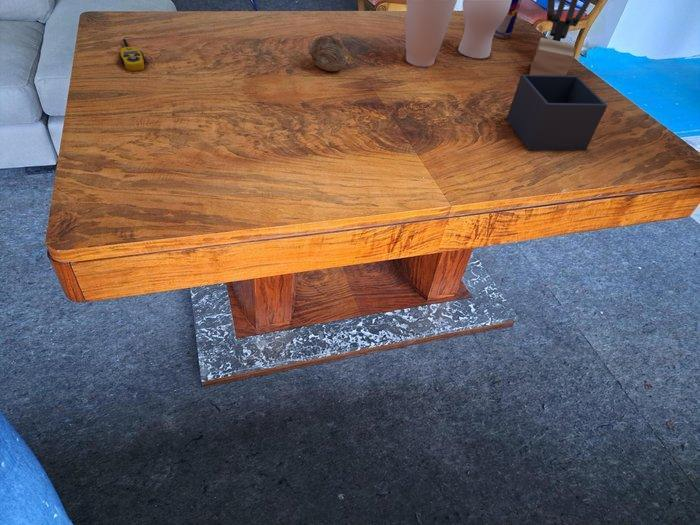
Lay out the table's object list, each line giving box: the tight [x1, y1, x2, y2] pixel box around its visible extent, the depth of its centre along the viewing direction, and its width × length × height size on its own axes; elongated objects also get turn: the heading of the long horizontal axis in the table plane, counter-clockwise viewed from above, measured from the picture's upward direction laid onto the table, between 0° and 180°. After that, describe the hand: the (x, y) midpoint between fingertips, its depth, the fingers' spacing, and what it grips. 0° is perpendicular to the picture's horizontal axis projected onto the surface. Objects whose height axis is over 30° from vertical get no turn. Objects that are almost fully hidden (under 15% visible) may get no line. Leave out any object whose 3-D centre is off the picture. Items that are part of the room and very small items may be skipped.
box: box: [506, 74, 608, 151], centre depth 100 cm, size 12×12×10 cm
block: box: [528, 37, 575, 76], centre depth 122 cm, size 8×8×7 cm
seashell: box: [307, 35, 347, 72], centre depth 114 cm, size 9×7×8 cm
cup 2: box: [457, 0, 512, 59], centre depth 125 cm, size 11×11×16 cm
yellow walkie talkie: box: [118, 38, 146, 72], centre depth 111 cm, size 5×2×15 cm
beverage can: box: [494, 0, 522, 39], centre depth 136 cm, size 5×5×15 cm
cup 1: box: [404, 0, 458, 68], centre depth 119 cm, size 12×12×16 cm
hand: (553, 49), depth 125 cm, fingers closed
